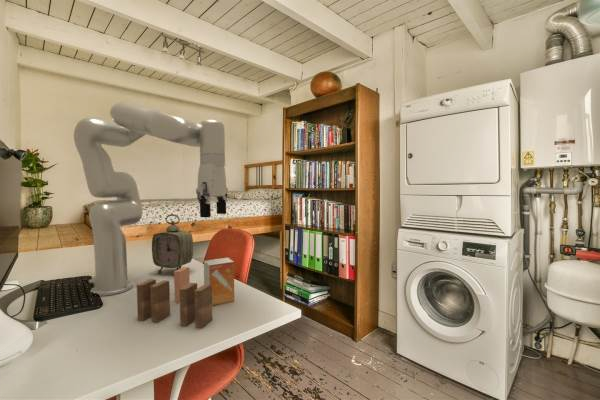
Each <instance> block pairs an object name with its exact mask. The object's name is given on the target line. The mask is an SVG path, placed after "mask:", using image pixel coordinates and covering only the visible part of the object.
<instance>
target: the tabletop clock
mask: <svg viewBox="0 0 600 400" xmlns="http://www.w3.org/2000/svg"><path fill="white" fill-rule="evenodd" d="M169 217H176V218H177V220H178V221H176V222H175V221H174V220H171V221H168V218H169ZM180 220H181V219H180V216H179V215H178V214H172V213H171V214H168V215H167V216H165V222H166V223H167V224H169V225H168V226H167V227H166V230H165V231H163V232H157V233H155V234H153V236H152V240H151V254H152V262H153V264H154V265H155V266H156V267H159V268H160V269H158V270H157V274H161V273H162V270H163V268H166V269H175V271H176V270H178V269H181V268H182V267H183V266H185V265H187V264H189V263H191V262H192V260H193V257H194V240H193V235H192V233H191V232H189V231H186V230H180V228H179V227H180V226H178V224H179V223H180V222H181V221H180Z"/></svg>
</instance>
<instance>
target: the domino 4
mask: <svg viewBox="0 0 600 400" xmlns="http://www.w3.org/2000/svg"><path fill="white" fill-rule="evenodd" d="M196 289H198V283H197V282H189V284H187V285H186V286H184V287H182V288H180V303H179V314H180V315H179V320H180V324H179V325H180V326H181V327H189V326H190V325H191V324H193V323H195V290H196Z"/></svg>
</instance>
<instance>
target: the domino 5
mask: <svg viewBox="0 0 600 400" xmlns="http://www.w3.org/2000/svg"><path fill="white" fill-rule="evenodd" d="M212 321H213V306H212V284H204V283H203V284H202V285H201V286H199V287H197V289H196V290H195V321H194V323H195V324H194V325H195V329H196V328H197V329H204V328H205V327H206V326H207V325H209V324H210V323H211V322H212Z"/></svg>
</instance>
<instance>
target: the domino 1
mask: <svg viewBox="0 0 600 400" xmlns="http://www.w3.org/2000/svg"><path fill="white" fill-rule="evenodd" d="M156 283H157V279H153V278H149V279H147V280H145V281H143V282H139V283H138V284H136V304H137V306H136V307H137V321H140V322H145V321H146V320H148V319H150V318H152V316H151V286H152V285H154V284H156Z"/></svg>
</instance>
